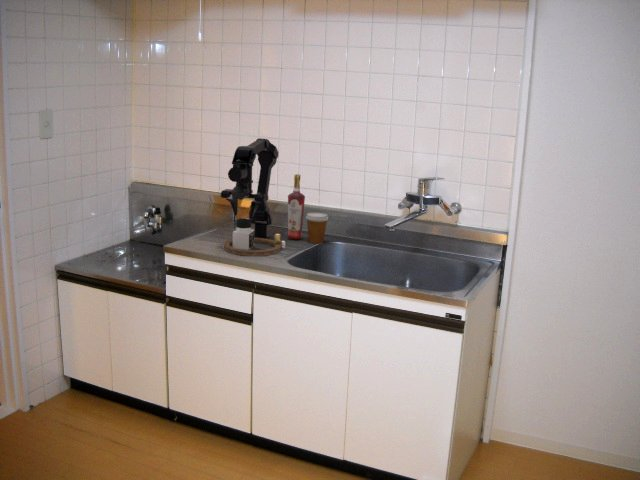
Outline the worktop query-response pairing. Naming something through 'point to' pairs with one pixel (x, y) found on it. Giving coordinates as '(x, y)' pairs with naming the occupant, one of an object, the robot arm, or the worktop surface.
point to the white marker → (283, 244)
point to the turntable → (255, 253)
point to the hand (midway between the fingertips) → (244, 216)
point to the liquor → (295, 211)
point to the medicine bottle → (243, 234)
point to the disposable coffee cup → (316, 227)
